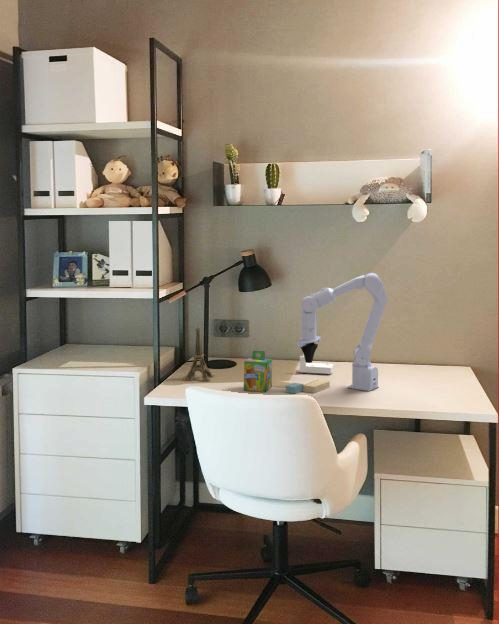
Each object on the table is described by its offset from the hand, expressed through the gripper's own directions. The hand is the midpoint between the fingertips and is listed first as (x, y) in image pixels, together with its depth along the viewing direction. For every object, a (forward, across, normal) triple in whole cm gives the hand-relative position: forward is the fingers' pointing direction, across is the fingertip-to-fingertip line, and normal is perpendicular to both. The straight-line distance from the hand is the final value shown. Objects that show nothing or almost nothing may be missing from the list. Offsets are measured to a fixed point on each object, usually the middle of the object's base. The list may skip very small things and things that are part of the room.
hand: (308, 362), depth 298 cm
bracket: (+10, -22, -10) cm, 26 cm away
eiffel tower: (+10, +14, -44) cm, 47 cm away
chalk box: (+10, +15, -14) cm, 22 cm away
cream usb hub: (+9, +2, +5) cm, 11 cm away
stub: (+9, +10, 0) cm, 14 cm away
